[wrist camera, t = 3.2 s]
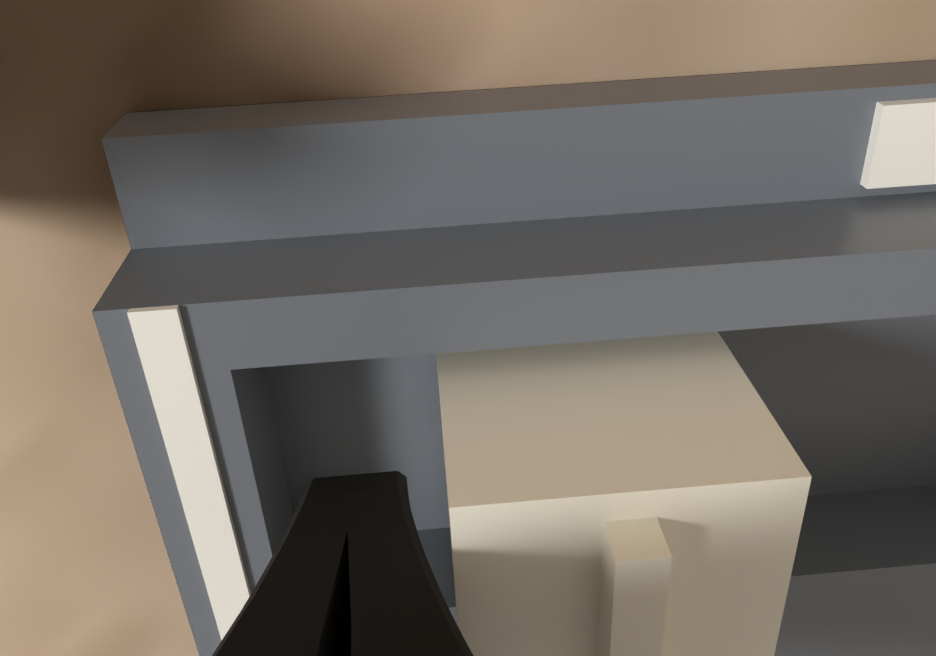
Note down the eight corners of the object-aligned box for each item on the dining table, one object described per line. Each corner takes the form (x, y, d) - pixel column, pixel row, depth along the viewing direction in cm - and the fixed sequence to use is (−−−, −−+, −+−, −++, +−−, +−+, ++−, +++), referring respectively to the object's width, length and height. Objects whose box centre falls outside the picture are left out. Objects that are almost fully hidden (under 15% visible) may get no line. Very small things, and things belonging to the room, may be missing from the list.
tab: (677, 502, 15) (781, 748, 11) (448, 522, 15) (469, 779, 11) (699, 302, 13) (835, 513, 9) (434, 322, 13) (452, 548, 9)
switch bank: (922, 756, 22) (995, 884, 19) (305, 818, 21) (292, 959, 19) (1194, 43, 13) (1404, 99, 10) (126, 113, 12) (51, 191, 9)
